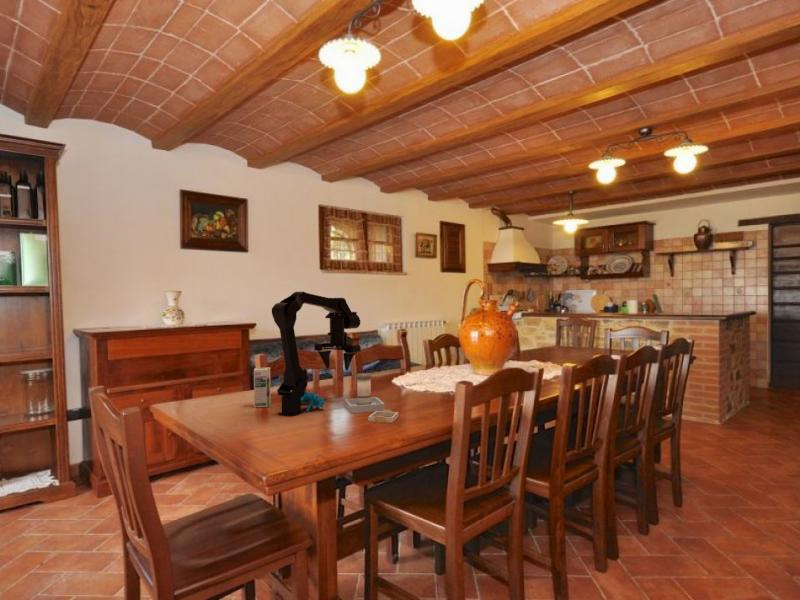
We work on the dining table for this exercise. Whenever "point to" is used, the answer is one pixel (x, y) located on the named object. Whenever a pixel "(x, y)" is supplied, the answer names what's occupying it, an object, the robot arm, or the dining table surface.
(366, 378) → the fuse
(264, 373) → the syrup box
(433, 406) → the dining table surface
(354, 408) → the parts tray
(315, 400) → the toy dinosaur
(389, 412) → the shallow beige tray
